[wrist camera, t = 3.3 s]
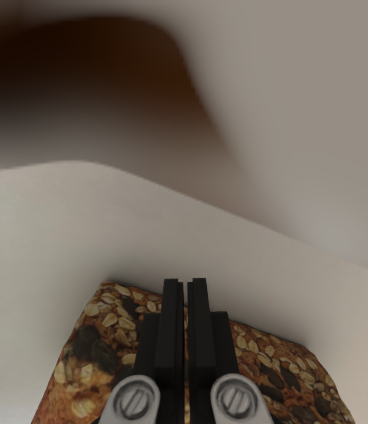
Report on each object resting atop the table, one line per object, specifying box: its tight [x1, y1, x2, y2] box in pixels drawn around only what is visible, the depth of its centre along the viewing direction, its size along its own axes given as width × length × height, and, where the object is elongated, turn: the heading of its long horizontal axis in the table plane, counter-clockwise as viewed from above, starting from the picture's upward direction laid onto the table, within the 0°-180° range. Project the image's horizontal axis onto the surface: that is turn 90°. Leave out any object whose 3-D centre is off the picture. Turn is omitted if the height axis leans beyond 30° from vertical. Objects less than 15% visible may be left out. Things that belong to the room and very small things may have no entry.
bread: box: [31, 282, 355, 424], centre depth 18 cm, size 19×11×10 cm, turn 66°
